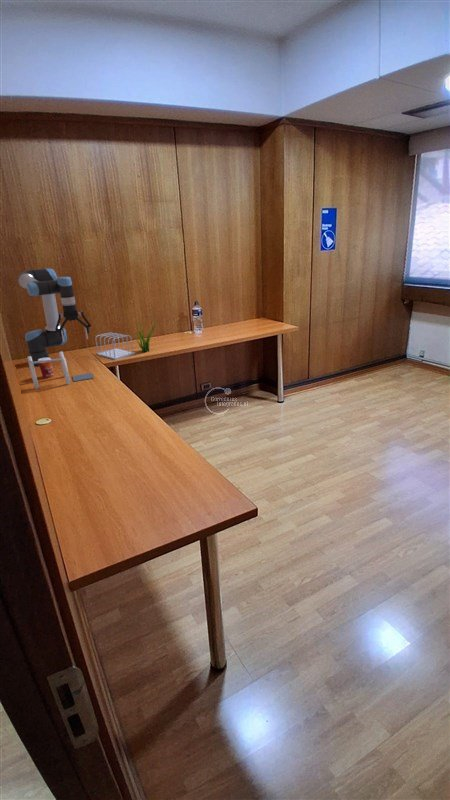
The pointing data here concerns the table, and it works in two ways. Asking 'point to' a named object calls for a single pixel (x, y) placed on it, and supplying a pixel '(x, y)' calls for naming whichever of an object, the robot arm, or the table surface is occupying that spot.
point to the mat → (83, 377)
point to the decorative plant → (145, 343)
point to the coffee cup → (46, 368)
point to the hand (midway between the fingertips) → (75, 340)
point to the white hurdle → (62, 359)
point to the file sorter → (115, 352)
